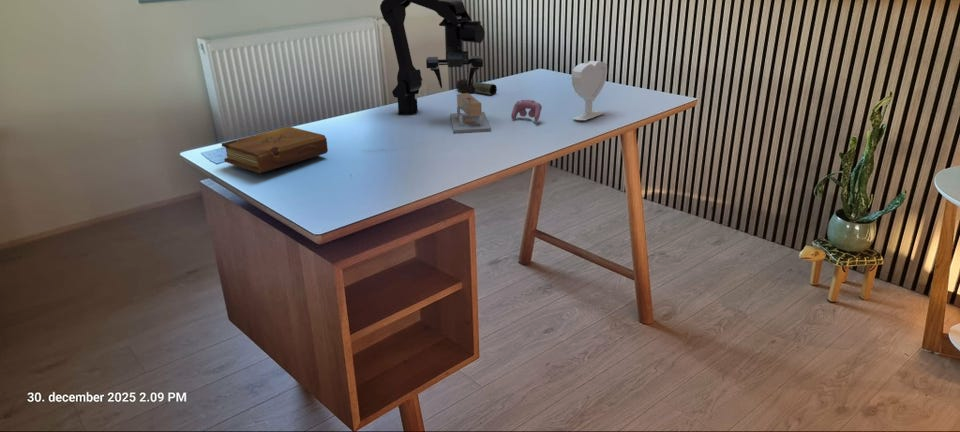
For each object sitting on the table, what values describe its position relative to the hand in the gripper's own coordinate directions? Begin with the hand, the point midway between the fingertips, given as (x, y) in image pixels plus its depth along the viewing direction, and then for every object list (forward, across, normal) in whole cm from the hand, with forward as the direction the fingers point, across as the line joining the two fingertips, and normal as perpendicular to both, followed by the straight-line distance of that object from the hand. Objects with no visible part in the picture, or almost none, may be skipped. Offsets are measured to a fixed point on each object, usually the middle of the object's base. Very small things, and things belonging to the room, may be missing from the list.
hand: (454, 87), depth 227 cm
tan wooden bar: (+6, +4, -7) cm, 10 cm away
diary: (+12, -54, -33) cm, 65 cm away
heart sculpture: (+10, +45, -4) cm, 47 cm away
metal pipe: (+14, +14, +33) cm, 38 cm away
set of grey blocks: (+11, +4, -7) cm, 13 cm away
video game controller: (+10, +23, -7) cm, 26 cm away
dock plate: (+11, +4, -7) cm, 13 cm away
